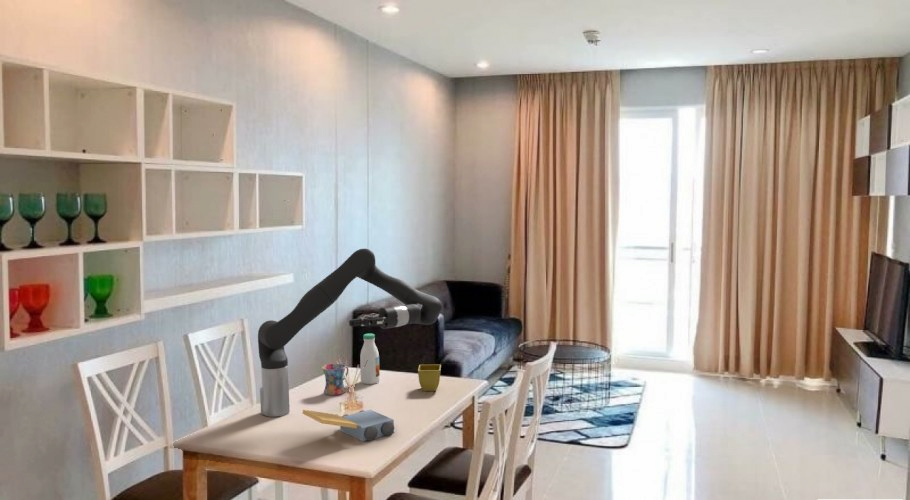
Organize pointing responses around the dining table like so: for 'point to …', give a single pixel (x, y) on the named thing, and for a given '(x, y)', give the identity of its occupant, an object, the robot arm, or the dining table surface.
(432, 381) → the flower pot
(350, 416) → the flatbed
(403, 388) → the dining table surface
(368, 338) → the milk bottle
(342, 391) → the mug
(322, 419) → the yellow plate
